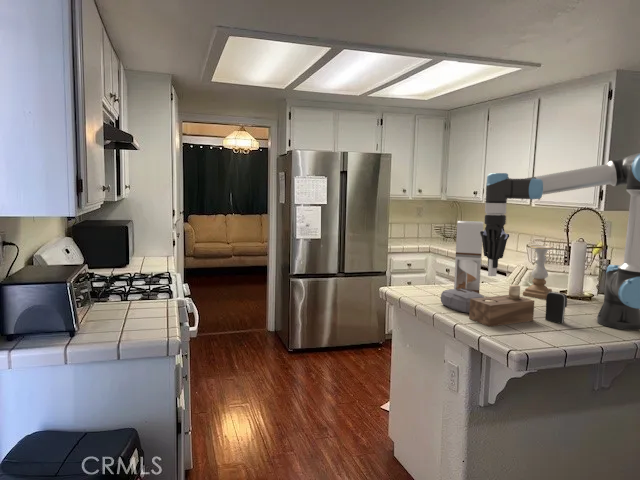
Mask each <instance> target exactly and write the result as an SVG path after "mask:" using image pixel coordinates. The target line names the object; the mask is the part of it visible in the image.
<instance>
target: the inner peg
mask: <svg viewBox="0 0 640 480" xmlns="http://www.w3.org/2000/svg"><path fill="white" fill-rule="evenodd" d="M520 293H521V286H520V285H517V284H510V285H509V286H508V295H509V298H508V299H511V300H519V298H520V297H521V294H520Z"/></svg>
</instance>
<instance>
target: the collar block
mask: <svg viewBox="0 0 640 480" xmlns="http://www.w3.org/2000/svg"><path fill="white" fill-rule="evenodd" d="M508 298H509V294H505V295H494V296H486V297H485V296H484V297H483V298H474V299H470V312H469V313H468V314H469V315H468V318H469V320H471V319H472V320H471V321H474V322H476V321H477V323H479V324H481V323H482V325H484V326H486V325H487V327H494V326H502V325H510V324H512V325H513V324H519V323H526V322H533V321H534V316H535V315H534V311H535V310H534V309H535V300H533V299H531V298H526V297H523V296H520V298H519V300H511V299H508ZM485 300H493V301H496V302H494V303H489V302H486V301H485Z"/></svg>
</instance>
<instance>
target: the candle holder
mask: <svg viewBox="0 0 640 480" xmlns="http://www.w3.org/2000/svg"><path fill="white" fill-rule="evenodd" d="M529 248H530V249H532V250H534V251H535V253H536V257H535V258H534V261H535V263H536V265H535V266H534V268H533V269H532V271H531V274H530V275H531V276H532V278H533V279H532V281H531V282H532V284H531V285H530V286H528V287H526V288H525V289H524V290H523V291H522V297H523V296H524V297H529V298H534V297H535V299H541V300H546V298H547V294H548V293H549V292H553V289H552V288H549V287H547V285H546V284H547V281H546V279H547V278H548V276H549V272H548V271H547V268H546V267H545V264H546V262H547V261H548V260H547V258H546V254H547V253H548V251H553V250H554V247H553V246H550V245H539V244H538V245H537V244H533V245H530V246H529Z"/></svg>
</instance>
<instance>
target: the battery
mask: <svg viewBox="0 0 640 480" xmlns="http://www.w3.org/2000/svg"><path fill="white" fill-rule="evenodd" d="M567 306H568V296H567V295H566V293H563V292H557V291H552V292H549V293H548V294H547V298H546V299H545V317H544V318H545V320H547V321H550V322H553V323H557V324H563V323H564V322H565V313H566V308H567Z"/></svg>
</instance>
